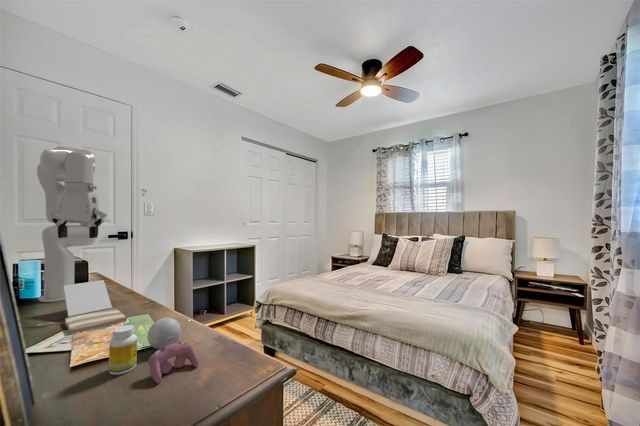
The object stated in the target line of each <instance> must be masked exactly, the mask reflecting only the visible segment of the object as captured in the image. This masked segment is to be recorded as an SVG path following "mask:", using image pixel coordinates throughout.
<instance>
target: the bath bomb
mask: <svg viewBox="0 0 640 426" xmlns="http://www.w3.org/2000/svg"><path fill="white" fill-rule="evenodd" d="M181 334H182V328H181V325H180V322H179V321H178V320H176V319H174V318H172V317H162V318H160V319H158V320H156V321H154V322H153V324H152V325H150V327H149V329H148V332H147V341H148V344H149V345H150V347H152V348H153V349H156V350H160V349H161V348H163V347H165V346H167V345H170V344H174V343H178V340H179V339H180V337H181Z"/></svg>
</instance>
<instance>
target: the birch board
mask: <svg viewBox="0 0 640 426" xmlns="http://www.w3.org/2000/svg"><path fill="white" fill-rule="evenodd" d="M127 319H128V318H127V316H126V315H124V314H123V313H122V312H121V311H120V310H118V308H117V307H115V308H112V309H109V310H104V311H99V312H94V313H89V314H84V315H79V316H75V317H70V318H68V317H65V318H64V324H65V325H66V328H67V329H68V331H69V333H70V335H71V336H73V335H75V334H74V333H77V332H81V333H83V332H82V331H86V332H88V331H87V330H90V331H92V330H91V329H94V330H96V329H95V328H98V329H100V328H99V327H102V328H105V327H104V326H106V327H110V326H114V325H118V324H117V323H119V324H122V323H121V322H123V323H126V322H125V321H127ZM127 322H128V321H127ZM113 324H114V325H113ZM72 334H73V335H72ZM77 334H78V333H77Z"/></svg>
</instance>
